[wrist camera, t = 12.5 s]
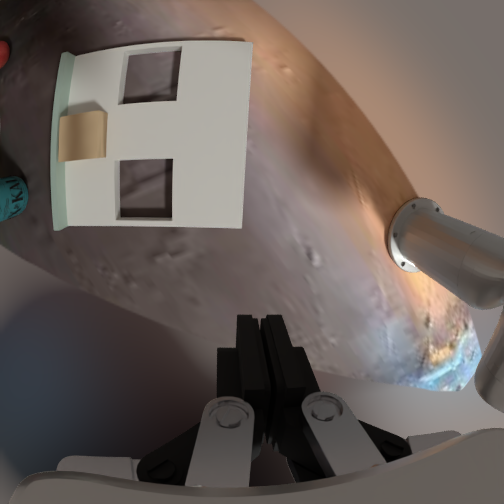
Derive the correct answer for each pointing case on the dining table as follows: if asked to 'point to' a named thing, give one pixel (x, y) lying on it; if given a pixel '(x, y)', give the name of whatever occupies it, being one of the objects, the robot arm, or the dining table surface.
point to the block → (83, 136)
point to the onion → (4, 53)
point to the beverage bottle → (12, 197)
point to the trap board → (157, 135)
